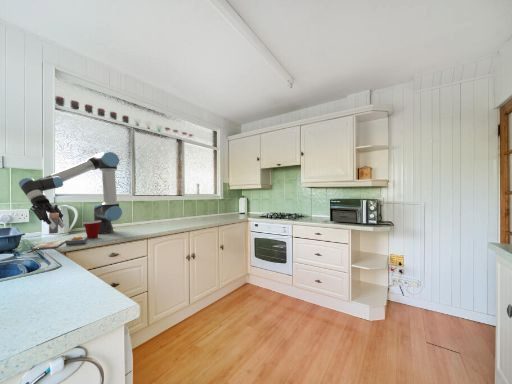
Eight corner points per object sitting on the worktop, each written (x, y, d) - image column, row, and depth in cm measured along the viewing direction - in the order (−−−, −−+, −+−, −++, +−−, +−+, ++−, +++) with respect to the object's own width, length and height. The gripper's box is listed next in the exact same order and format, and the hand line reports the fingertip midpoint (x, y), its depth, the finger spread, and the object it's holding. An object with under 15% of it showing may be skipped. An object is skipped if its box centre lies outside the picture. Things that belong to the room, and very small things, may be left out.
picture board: (67, 241, 146) (67, 239, 146) (56, 248, 129) (56, 246, 129) (45, 243, 141) (45, 241, 141) (31, 250, 123) (31, 248, 123)
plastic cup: (82, 237, 159) (82, 221, 159) (100, 235, 166) (101, 220, 166) (82, 240, 151) (82, 222, 151) (101, 238, 157) (102, 221, 158)
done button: (82, 239, 144) (82, 236, 144) (80, 240, 140) (80, 237, 140) (73, 239, 142) (74, 236, 142) (72, 241, 138) (72, 237, 138)
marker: (59, 232, 134) (59, 212, 135) (56, 233, 131) (57, 213, 131) (50, 232, 132) (50, 212, 133) (47, 233, 129) (48, 213, 129)
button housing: (87, 241, 147) (87, 236, 147) (84, 244, 139) (84, 239, 139) (70, 242, 143) (70, 238, 143) (65, 245, 135) (66, 240, 135)
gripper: (50, 202, 144) (70, 229, 140) (17, 203, 127) (38, 233, 123) (57, 194, 142) (77, 221, 139) (24, 194, 126) (45, 224, 122)
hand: (58, 227), depth 131 cm, fingers closed on marker, 4 cm apart
